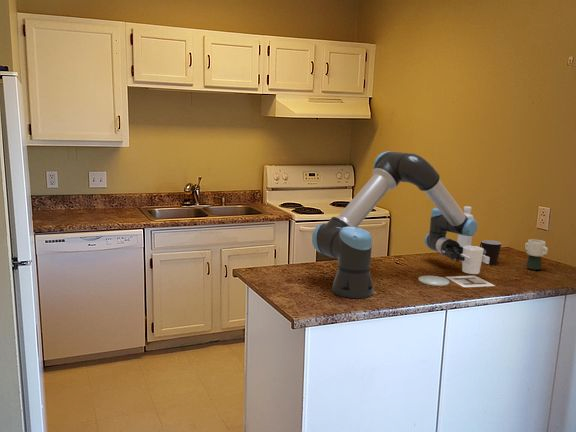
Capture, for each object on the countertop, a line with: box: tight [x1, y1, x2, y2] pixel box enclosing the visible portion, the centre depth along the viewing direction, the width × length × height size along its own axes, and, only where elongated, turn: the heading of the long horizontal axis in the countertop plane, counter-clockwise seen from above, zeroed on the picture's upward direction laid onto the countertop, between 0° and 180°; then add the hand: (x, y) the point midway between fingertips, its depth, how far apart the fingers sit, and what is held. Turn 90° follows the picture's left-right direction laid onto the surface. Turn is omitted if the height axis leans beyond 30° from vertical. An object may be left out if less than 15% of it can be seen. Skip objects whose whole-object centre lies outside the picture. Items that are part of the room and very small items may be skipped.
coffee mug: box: [479, 239, 502, 266], centre depth 240 cm, size 12×9×10 cm
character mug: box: [524, 239, 549, 271], centre depth 230 cm, size 11×7×13 cm, turn 29°
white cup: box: [461, 245, 484, 275], centre depth 208 cm, size 8×8×10 cm
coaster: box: [418, 275, 450, 287], centre depth 207 cm, size 12×12×1 cm
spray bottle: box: [456, 206, 475, 247], centre depth 255 cm, size 7×7×25 cm
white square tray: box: [445, 275, 496, 288], centre depth 209 cm, size 14×14×1 cm
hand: (479, 261), depth 203 cm, fingers closed on white cup, 7 cm apart
